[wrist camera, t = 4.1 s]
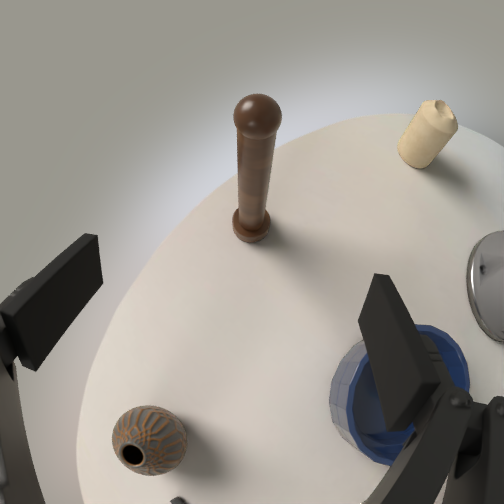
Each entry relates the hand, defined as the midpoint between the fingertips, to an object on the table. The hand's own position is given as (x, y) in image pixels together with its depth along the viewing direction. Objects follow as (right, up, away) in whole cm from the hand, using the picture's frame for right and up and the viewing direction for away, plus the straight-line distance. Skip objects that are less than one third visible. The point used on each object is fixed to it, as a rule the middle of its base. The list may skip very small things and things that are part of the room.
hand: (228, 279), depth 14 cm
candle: (+24, +15, +26) cm, 38 cm away
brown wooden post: (+1, +4, +21) cm, 21 cm away
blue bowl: (+16, -14, +16) cm, 26 cm away
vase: (-8, -17, +14) cm, 24 cm away
